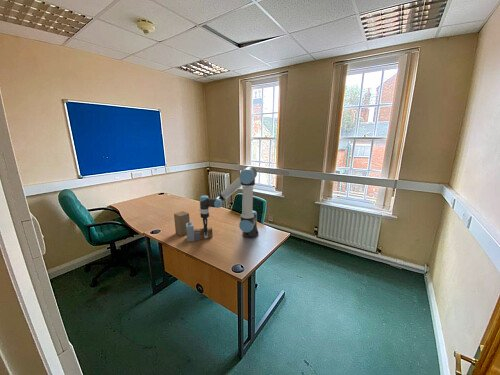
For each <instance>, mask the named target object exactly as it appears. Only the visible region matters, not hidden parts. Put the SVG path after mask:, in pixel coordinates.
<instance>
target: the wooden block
mask: <svg viewBox="0 0 500 375" xmlns="http://www.w3.org/2000/svg"><path fill="white" fill-rule="evenodd" d="M173 219H174V227H175V234H176V235H178V236H180V237H184V236H187V231H186V223H188V222H191V221H190V213H189V212H187V211H184V210H183V211H179V212H175V213H173Z"/></svg>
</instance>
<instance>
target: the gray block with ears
mask: <svg viewBox="0 0 500 375" xmlns="http://www.w3.org/2000/svg"><path fill="white" fill-rule="evenodd" d="M194 226H195V225H194V222H193V221H192V222H191V221H190V222H188V223H186V231H187V234H186V241H187V242H194V241H200V240H201V239H200V232H195V233H194V229H195V228H194Z"/></svg>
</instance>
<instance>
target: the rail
mask: <svg viewBox="0 0 500 375" xmlns="http://www.w3.org/2000/svg"><path fill="white" fill-rule="evenodd" d="M195 232H200V240H201V239H206V238H205V237H204V227H203V228H194V233H195ZM207 235H208V238H210V239H211V238H213V237H214V236H213V227H207ZM208 238H207V239H208Z"/></svg>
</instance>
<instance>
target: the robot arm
mask: <svg viewBox="0 0 500 375" xmlns="http://www.w3.org/2000/svg"><path fill="white" fill-rule="evenodd" d="M257 176H258V172H257V169H256V168H255V167H254V166H247V167H245V168H243V169H241V171H240V173H239V177H237V178H236V179H235V180H234V181H233V182H231V184H229V185H228V186H227V187H226V188H225V189H224V190H222V191H221V192H220V193H219V194H218V195H216V196H215V197H214V198H210V197H209V195H207V194H206V195H201V196H199V211H200V212H199V213H200V218H201V219H202V223H203V228H204V237H205V238H204V239H208V235H207V228H208V218H210V208H216V209H219V208H222V207H223V203H224V201H226V200H228V198H229V197H231V196H232V194H234V193H235V192H237V190H239V189H240V188H242V193H241V194H242V195H241V196H242V197H241V199H242V205H241V206H242V208H241V209H242V210H241V211H242V212H241V214H240V219H239V220H240V222H239V224H238V226H239V229H240V230H241V231H242V232H241V233H242V237H244V238H249V239H253V238H257V237H258V236H259V234H260V233H259V228H258V225H257V223H258V213H257V211H256V210H253V206H254V205H253V203H254V186H255V185H256V178H257Z"/></svg>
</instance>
